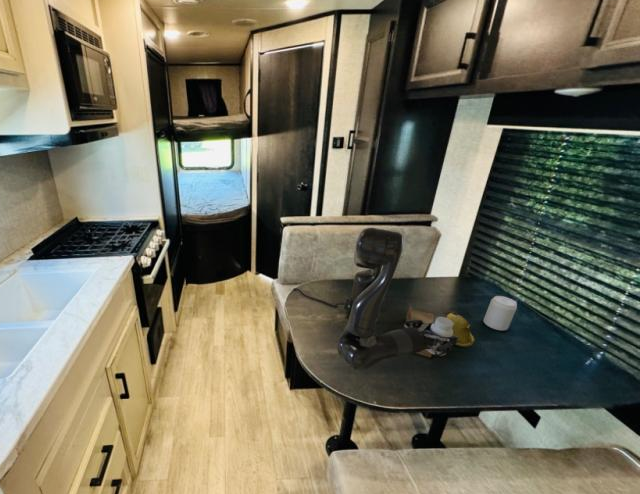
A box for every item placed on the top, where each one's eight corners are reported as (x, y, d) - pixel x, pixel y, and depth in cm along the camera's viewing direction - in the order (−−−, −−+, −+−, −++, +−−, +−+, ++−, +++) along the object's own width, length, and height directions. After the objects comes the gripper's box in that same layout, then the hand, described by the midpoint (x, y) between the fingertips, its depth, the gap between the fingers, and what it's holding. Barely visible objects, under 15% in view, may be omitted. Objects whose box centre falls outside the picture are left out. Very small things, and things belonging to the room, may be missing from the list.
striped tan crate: (430, 357, 112) (436, 340, 108) (402, 349, 116) (407, 332, 112) (429, 326, 128) (434, 310, 124) (405, 320, 132) (409, 304, 128)
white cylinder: (485, 328, 126) (495, 303, 121) (481, 317, 133) (490, 293, 128) (509, 334, 123) (521, 308, 118) (504, 322, 130) (514, 298, 125)
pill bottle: (437, 358, 96) (447, 329, 91) (420, 346, 101) (428, 318, 96) (450, 353, 98) (461, 324, 94) (432, 341, 103) (442, 313, 99)
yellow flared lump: (451, 353, 114) (463, 319, 108) (434, 338, 121) (444, 306, 115) (477, 348, 116) (491, 315, 110) (459, 334, 123) (471, 302, 117)
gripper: (424, 348, 86) (471, 337, 90) (388, 317, 98) (431, 309, 102) (417, 369, 89) (463, 357, 93) (383, 336, 101) (425, 327, 105)
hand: (446, 332), depth 98 cm, fingers closed on pill bottle, 6 cm apart
